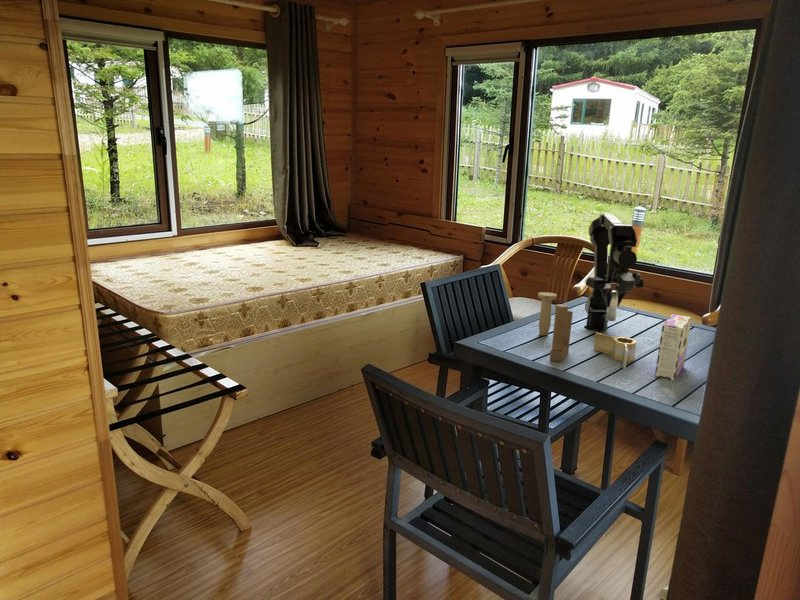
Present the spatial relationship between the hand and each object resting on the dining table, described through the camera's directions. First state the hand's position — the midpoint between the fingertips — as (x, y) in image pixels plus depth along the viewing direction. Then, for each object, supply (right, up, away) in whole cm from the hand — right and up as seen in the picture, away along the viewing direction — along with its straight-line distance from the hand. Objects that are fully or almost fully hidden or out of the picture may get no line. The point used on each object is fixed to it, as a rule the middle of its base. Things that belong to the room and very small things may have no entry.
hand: (612, 307), depth 204 cm
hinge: (-4, -16, -10) cm, 20 cm away
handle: (-21, -10, +11) cm, 25 cm away
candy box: (+10, -20, -20) cm, 30 cm away
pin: (0, -4, +1) cm, 4 cm away
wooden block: (-21, -16, -10) cm, 28 cm away
